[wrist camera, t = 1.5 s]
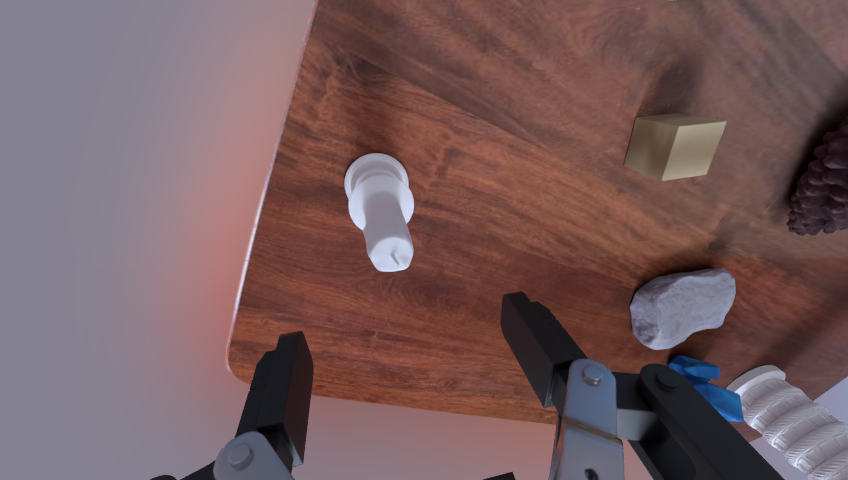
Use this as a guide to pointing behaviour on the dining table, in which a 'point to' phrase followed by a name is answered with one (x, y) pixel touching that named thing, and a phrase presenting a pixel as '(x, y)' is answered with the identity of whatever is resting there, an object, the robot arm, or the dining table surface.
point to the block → (673, 145)
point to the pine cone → (823, 188)
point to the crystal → (709, 386)
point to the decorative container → (793, 423)
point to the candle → (381, 209)
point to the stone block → (681, 306)
